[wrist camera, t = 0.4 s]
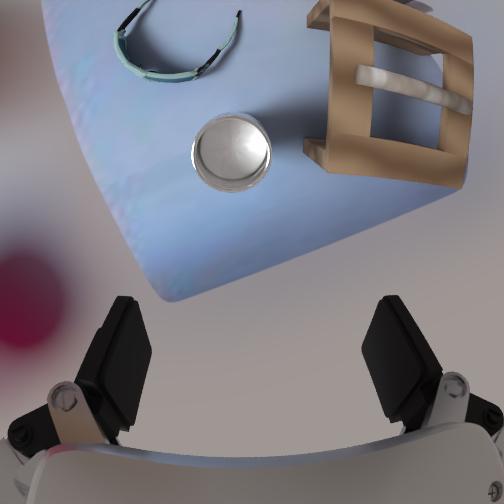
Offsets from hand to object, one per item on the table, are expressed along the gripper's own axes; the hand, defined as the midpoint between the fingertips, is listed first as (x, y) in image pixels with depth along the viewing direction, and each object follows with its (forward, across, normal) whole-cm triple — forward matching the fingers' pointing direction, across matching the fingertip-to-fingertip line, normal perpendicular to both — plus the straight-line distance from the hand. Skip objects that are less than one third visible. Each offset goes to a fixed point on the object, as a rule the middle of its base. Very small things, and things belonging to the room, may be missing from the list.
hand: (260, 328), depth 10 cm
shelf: (+30, -16, -12) cm, 36 cm away
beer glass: (+30, +2, -3) cm, 31 cm away
